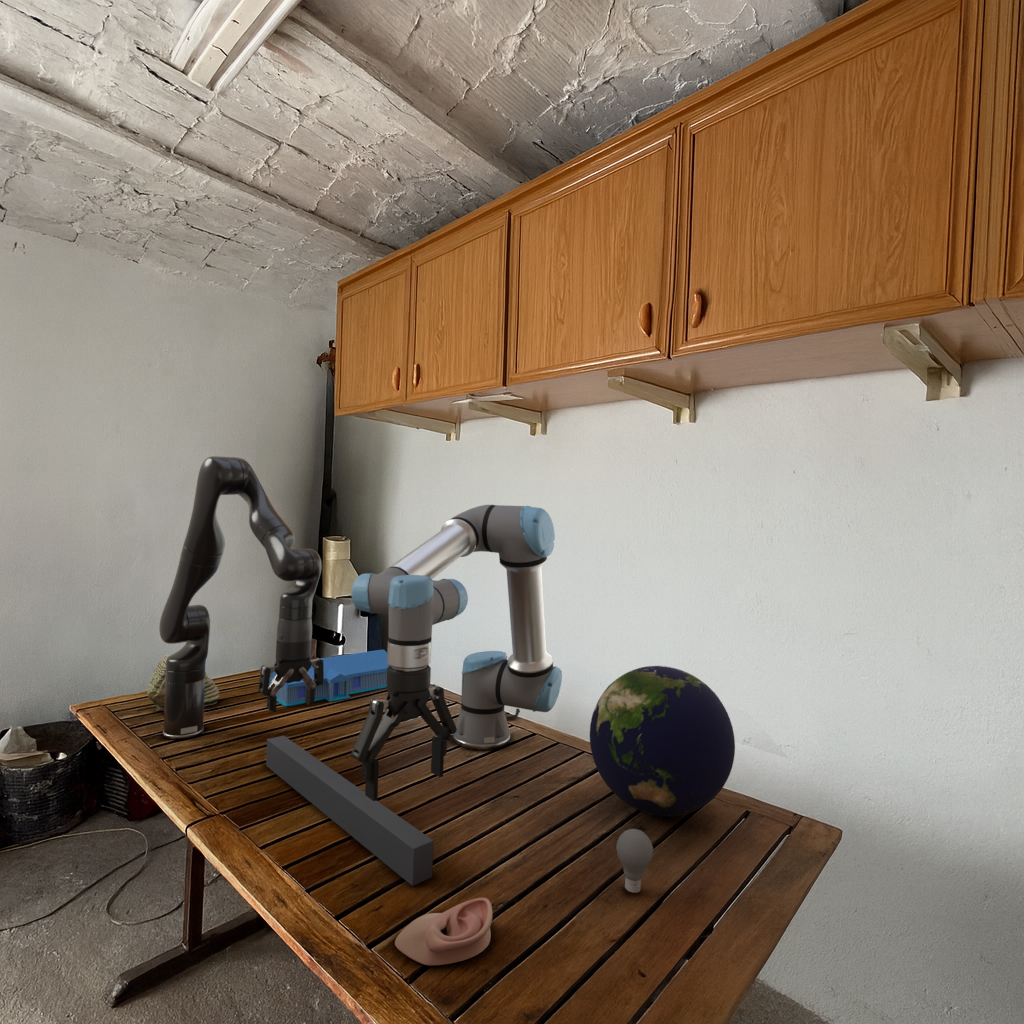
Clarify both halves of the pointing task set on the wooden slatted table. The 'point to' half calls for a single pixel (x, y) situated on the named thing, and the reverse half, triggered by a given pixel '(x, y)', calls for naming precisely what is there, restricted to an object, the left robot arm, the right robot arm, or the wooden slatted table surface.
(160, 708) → the fossil
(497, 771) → the wooden slatted table surface
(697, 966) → the wooden slatted table surface
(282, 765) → the beam
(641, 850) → the light bulb
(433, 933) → the anatomical model
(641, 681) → the globe
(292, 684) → the model building
